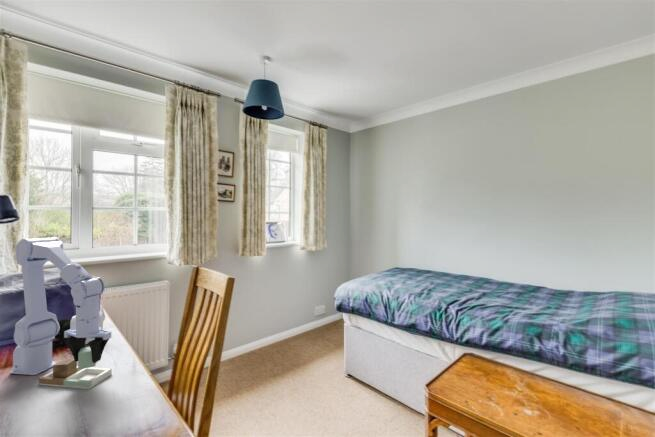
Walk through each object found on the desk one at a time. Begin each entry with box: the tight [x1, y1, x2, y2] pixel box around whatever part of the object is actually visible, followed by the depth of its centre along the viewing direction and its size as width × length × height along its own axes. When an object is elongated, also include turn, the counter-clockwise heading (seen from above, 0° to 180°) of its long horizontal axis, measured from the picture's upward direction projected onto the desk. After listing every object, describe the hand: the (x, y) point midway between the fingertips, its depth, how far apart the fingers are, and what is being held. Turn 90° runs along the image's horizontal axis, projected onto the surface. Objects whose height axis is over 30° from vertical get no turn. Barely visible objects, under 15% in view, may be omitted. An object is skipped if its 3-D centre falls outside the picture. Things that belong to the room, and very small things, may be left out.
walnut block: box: [52, 357, 78, 378], centre depth 92 cm, size 4×4×5 cm
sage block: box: [77, 346, 97, 370], centre depth 91 cm, size 4×4×5 cm
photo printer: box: [70, 311, 104, 345], centre depth 118 cm, size 10×4×12 cm, turn 129°
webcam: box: [52, 318, 71, 349], centre depth 117 cm, size 8×8×10 cm
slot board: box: [38, 365, 113, 390], centre depth 92 cm, size 17×8×2 cm, turn 83°
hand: (87, 360), depth 91 cm, fingers closed on sage block, 6 cm apart
